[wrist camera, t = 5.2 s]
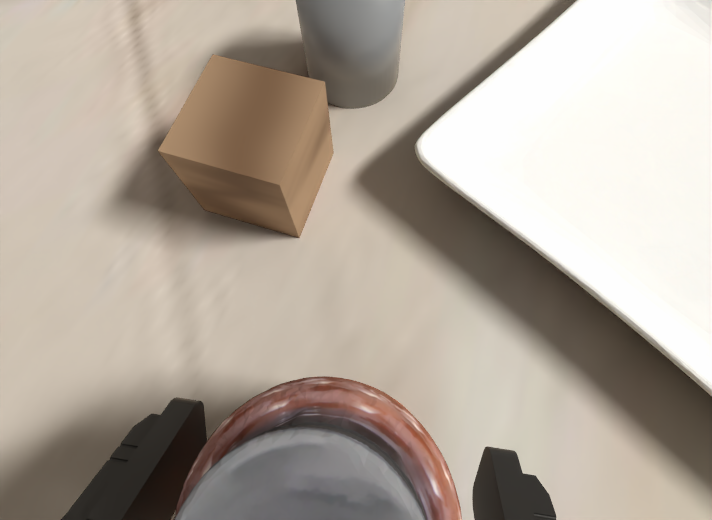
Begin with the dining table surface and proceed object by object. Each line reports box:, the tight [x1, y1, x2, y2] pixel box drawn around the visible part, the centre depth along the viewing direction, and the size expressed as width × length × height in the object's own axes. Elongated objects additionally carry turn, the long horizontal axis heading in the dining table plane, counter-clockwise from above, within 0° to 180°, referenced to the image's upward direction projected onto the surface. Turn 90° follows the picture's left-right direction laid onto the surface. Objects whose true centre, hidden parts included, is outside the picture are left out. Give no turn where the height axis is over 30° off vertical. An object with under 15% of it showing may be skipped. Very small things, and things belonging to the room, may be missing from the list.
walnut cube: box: [158, 55, 333, 238], centre depth 19 cm, size 5×5×5 cm
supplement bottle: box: [175, 377, 462, 520], centre depth 11 cm, size 6×6×11 cm
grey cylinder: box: [296, 0, 405, 109], centre depth 20 cm, size 5×5×6 cm
